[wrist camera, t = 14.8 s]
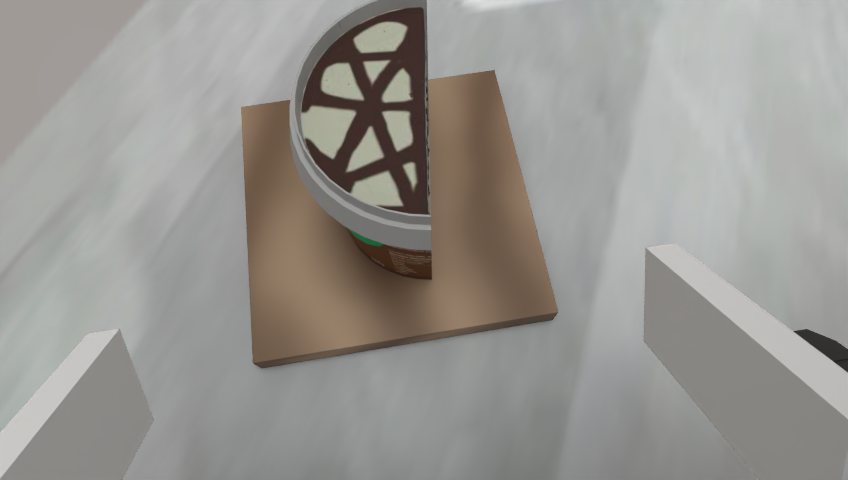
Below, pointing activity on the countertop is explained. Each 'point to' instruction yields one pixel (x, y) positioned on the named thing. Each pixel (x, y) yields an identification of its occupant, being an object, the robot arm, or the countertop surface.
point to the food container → (370, 131)
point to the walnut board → (366, 281)
